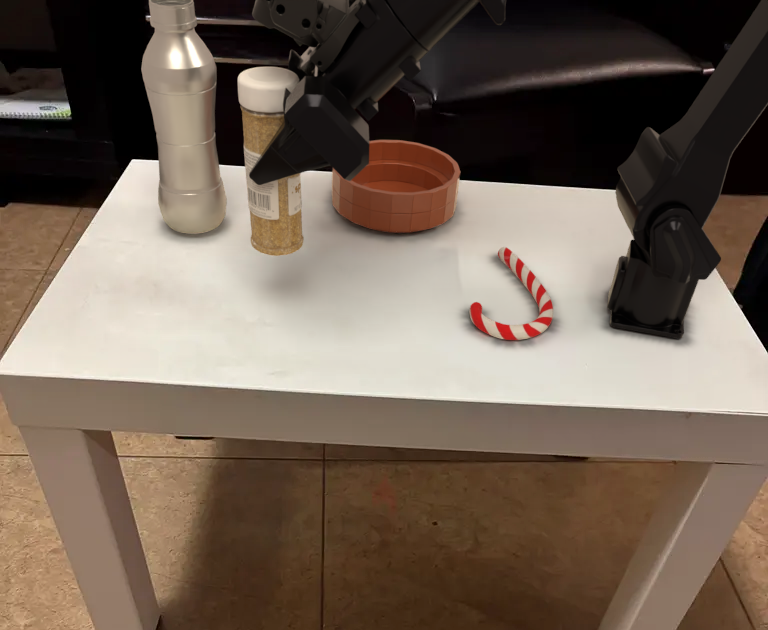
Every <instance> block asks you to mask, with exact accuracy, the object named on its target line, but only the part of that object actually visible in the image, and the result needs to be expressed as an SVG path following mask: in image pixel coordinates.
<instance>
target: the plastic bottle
mask: <svg viewBox="0 0 768 630" xmlns="http://www.w3.org/2000/svg"><path fill="white" fill-rule="evenodd" d="M148 6H149V14H150V17H149V23H150V26H151V28H154V33H153V35H152V36H151V38H150V40H149V42H148V44H147V45H146V48H145V50H144V53H143V55H142V60H141V61H142V62H141V68H140V69H141V74H142V80H143V83H144V87H145V91H146V95H147V99H148V102H149V106H150V110H151V114H152V119H153V125H154V131H155V133H156V136H155V137H156V142H157V153H158V174H159V175H158V177H159V180H158V186H157V187H158V188H157V204H158V207H159V211H160V213H161V218H162V220H163V221H164V222H165V224H166V225H167V226H168V227H169V228H170V229H172V230H173V231H175V232H178V233H183V234H190V235H191V234H203V233H207V232H210V231H213V230H216V229H217V228H218V227H219V226H220V225H221V224H222V223H223V221H224V219H225V218H226V213H227V203H228V201H227V200H228V199H227V194H226V188H225V184H224V181H223V179H222V176H221V170H220V169H221V168H220V162H219V156H218V151H217V150H218V149H217V143H216V141H217V140H216V132H215V131H216V114H215V113H216V111H215V110H216V97H217V96H216V94H217V80H218V79H217V76H218V75H217V74H218V73H217V71H218V70H217V64H216V62H215V59H214V56H213V54H212V53H211V50H210V49H209V48H208V47H207V45H206V43H205V42H204V41H203V39H202V38H201V37H200V36H199V35H198V33H197V32H196V30H195V28H196V27H197V25H198V20H197V19H198V18H197V16H196V12H195V11H196V9H195V2H194V0H148Z"/></svg>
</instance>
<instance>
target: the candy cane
mask: <svg viewBox="0 0 768 630" xmlns="http://www.w3.org/2000/svg"><path fill="white" fill-rule="evenodd" d="M497 256H498V258H499V259H500V261H501V262H502V263H503V264H504V265H505V266H506V267H508V268H509V270H510V271H511V272H512V273H513V274H514V275H515V276H516V277H517V278H518V279H519V281H520V282H521V283H522V285H523V286H524V287H525V288H526V289H527V290H528V292H529V293H530V294H531V296H532V298H533V299H534V301H535V302H536V305H537V307H538V311H539V314H538V317H537V318H535V319H534V320H532V321H529V322H527V323H521V324H507V323H501V322H498V321H495V320H493V319H490V318H489V317H487V316H485V314H483V305H482V304H481V303H480V302H478V301H474V302H472V303H471V305H470V307H469V317H470V321H471V322H472V324H473V325H474V326H475V327H476V328H477V329H479V330H480V331H481V332H483V333H485V334H487V335H489V336H492V337H494V338H497V339H499V340H507V341H520V340H526V339H532V338H534V337H536V336H538V335H540V334H542V333H543V332H545V331H546V330H547V329H548V328H549V326H550V325H551V324H552V321H553V319H554V305H553V301H552V299H551V297H550V294H549V293H548V291H547V289H546V288H545V286H544V285H543V283H542V282H541V281H540V279H538V277H537V276H536V275H535V274H534V273H533V271H531V269H530V268H529V267H528V266H527V265H526V263H524V261H522V260H521V258H520V257H518V255H516V254H515V252H513V251H512V250H511V249H510V248H509V247H506V246H502V247H500V248H499V249H498V251H497Z"/></svg>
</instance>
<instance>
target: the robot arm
mask: <svg viewBox="0 0 768 630" xmlns="http://www.w3.org/2000/svg"><path fill="white" fill-rule="evenodd" d="M479 3H480V5H481V7H482V8H483V9H484V11H485V12H486V13H487V14H488V16H489V17H490V19H491V20H492V21H493V23H494V24H495V25H496V26H501V25H503V24H504V23H505V21H506V8H507V7H506V6H507V5H506V4H507V0H255V1H254V5H253V8H252V12H251V15H252V17H253V19H254V20H255V21H256V22H258V23H259V24H261V25H262V26H264V27H265V28H267V29H271V30H272V29H275V30H278V31H279V32H281V33H283V34H285V35H287V36H289V37H290V38H291V39H293V40H294V42H295V43H296V44H297V45H298V46H299V47H301V46H303V45H305V46H307V47H308V48H307V49H306V50H305V51H304V52H303V53H302V55H299V54H298V52H296V50H294V49H290V51H289V56H288V63H287V64H288V65H287V67H288V70H290V71H292V72H294V73H295V74H296V75H297V76H298V78H299V83H298V84H297V85H296V87H295V88H294V89H293V91H292V92H290V91H289V90H288V89H287V88H285V91H284V98H283V110H284V122H283V123H282V125H281V126H280V128H279V129H278V131H277V132H276V134H275V135H274V136H273V138H272V139H271V141H270V142H269V144H268V145H267V147H266V148H265V150H264V151H263V153H262V154H261V156H260V157H259V159H258V160H257V162H256V163H255V165H254V166H253V168H252V170H251V171H250V173H249V177H250V178H251V179H252V180H253V181H254V182H255V183H256V184H257V185H262V184H266V183H269V182H272V181H275V180H279V179H282V178H285V177H289V176H292V175H295V174H299V173H300V174H302V173H305V172H309V171H314V170H318V169H321V168H327V167H331V168H332V167H333V168H334V169H335V170H336V171H337V172H338V173H339V174H340V175H341V176H342V177H343V178H344V179H345V180H348V181H351V180H352V179H353V178H354V177H355V176H356V175H357V174H358V173H359V172H360V171H362V170H363V169H364V168H365V167H366V166H367V165H368V164H369V146H370V144H369V141H370V127H369V126H370V125H369V124H368V123H367V122H369V121H370V120H372V119H373V118H374V116H375V115H377V114H378V113H379V101H380V100H381V99H382V98H383V97H384V96H385V95H386V94H387V93H388V92H389V91H390V90H391V89H392V88H393V87H394V86H395V85H396V84H397V83H398V82H400V80H402V78H403V77H404V76H406V78H407V79H408V81H412V80H413V79H414V78H415V77H416V76H417V75H418V74H419V73H420V72H421V71H422V69H421V63H420V61H421V60H422V59H423V58H424V57H425V56H426V55H427V54H428V53H429V52H430V51H431V50H432V49H433V48H434V47H435V46H436V45H437V44H438V43H439V42H440V41H441V40H442V39H443V38H444V37H445V36H446V35H447V34H448V33H449V32H450V31H451V30H452V29H454V27H456V25H457V24H459V23H460V22H461V20H462V19H464V17H466V16H467V15H468V14H469V13H470V12H471V11H472V10H473V9H474V8H475V7H476V6H477V5H478V4H479ZM767 106H768V0H760V1H759V3H758V4H757V6H756V8H755V10H753V12H752V14H751V16H750V17H749V18H748V20H747V21H746V23H745V25H744V26H743V27H742V29H741V30H740V32H739V33H738V35H737V36H736V38H735V39H734V41H733V42H732V44H731V45H730V46H729V48H728V50H727V51H726V53H725V54H724V56H723V58H721V60H720V62H719V63H718V65H716V68H715V69H714V71H713V72H712V74H711V76H710V77H709V78H708V80H707V81H706V83H705V85H704V86H703V87H702V89H701V90H700V92H699V94H698V95H697V96H696V98H695V99H694V101H693V103H691V106H690V107H689V109H688V110H687V111H686V113H685V114H684V115H683V116H682V118H680V120H679V121H678V122H676V123H675V124H673V125H672V126H670V128H668V129H666V130H664V132H662V133H660V134H659V133H658V132H656V131H655V130H654V129H653V128H651V127H649V126H647V127H646V128H645V129H644V130H643V132H642V133H641V134H640V136H639V138H638V141H637V143H636V145H635V147H634V149H633V151H632V152H631V154H630V155H629V156H628V158H627V159H626V160H625V161H624V162H623V163H622V164H620V165H619V166H618V167H617V171H618V174H619V175H620V178H619V180H618V182H617V184H616V187H615V198H616V204H617V207H618V210H619V211H620V214H621V215H622V218H623V219H624V220H623V221H625V223H626V226H627V228H628V230H629V232H630V233H631V236H632V238H633V239H631V240H630V241H629V245H628V248H627V252H626V255H620V256H619V257H618V259H617V263H616V266H615V269H614V274H613V277H612V279H611V283H610V287H609V291H608V293H607V305H606V308H607V310H608V311H610V317H609V318H610V319H609V325H610V326H611V327H613V328H616V329H622V330H628V331H633V332H638V333H639V332H640V333H646V334H650V335H656V336H661V337H668V338H672V339H682V338H683V337H684V334H685V324H684V323H685V322H684V321H685V319H686V316H687V313H688V310H689V308H690V305H691V302H692V299H693V297H694V294H695V292H696V288H697V287H698V284H699V281H703V280H704V281H705V280H707V279H708V278H709V277H710V275H711V274H712V273H713V271H714V270H715V269H716V268H717V266H718V265H719V264H720V263H721V261H722V257H721V255H720V253H719V252H718V250H717V248H715V246H714V244H713V242H712V240H711V239H710V237H709V236H708V234H707V233H706V232H705V231H706V230H704V227H705V225H706V223H707V222H708V220H709V217H710V216H711V214H712V213H713V210H714V209H715V207H716V205H717V203H718V201H719V199H720V196H721V193H722V190H723V186H724V182H725V180H726V176H727V172H728V169H729V165H730V161H731V158H732V156H733V154H734V152H735V151H736V149H737V148H738V146H739V145H740V144H741V142H742V140H743V139H744V138H745V137H746V135H747V134H748V133H749V131H750V130H751V128H752V127H753V126H754V124H755V123H756V121H757V120H758V119H759V117H760V116H761V115H762V113H763V112H764V111H765V109H766V107H767ZM356 109H357V111H356ZM358 112H359V113H360V114H361V115H362V116H361V115H360V114H359V113H358ZM363 117H364V118H365V119H366V120H367V121H365V120H364V118H363Z"/></svg>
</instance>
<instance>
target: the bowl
mask: <svg viewBox="0 0 768 630" xmlns="http://www.w3.org/2000/svg"><path fill="white" fill-rule="evenodd" d="M369 144H370V146H369V164H368V165H367V166H366V167H365V168H364V169H363V170H362V171H360V172H359V173H358V174H357V175H356V176H355V177H354V178H353V179H352V180H351V181H348V180H345V179H344V178H343V177H342V176H341V175H340V174H339V173H338V172H337V171H336V170H335V169H334V168H333V167H332V166H331V204H332V206H333V208H334V209H335V210H336V211H337V213H338V214H339V215H340V216H342V217H343V218H345V219H347V220H348V221H350V222H351V223H353V224H355V225H359V226H360V227H364V228H366V229H369V230H373V231H377V232H384V233H392V234H408V233H409V234H410V233H418V232H422V231H427V230H430V229H433V228H436V227H438V226H441V225H444V224H445V223H446V222H447V221H449V220H450V219H451V218H453V216H454V214H455V211H456V208H457V203H458V196H459V195H458V194H459V187H460V179H461V178H460V177H461V173H462V172H461V170H460V169H461V168H460V166H459V163H458V161H456V160H455V159H454V158H453V157H452V156H451V155H449V154H448V153H446V152H445V151H441V150H440V149H438V148H436V147H433V146H430V145H427V144H423V143H420V142H416V141H415V142H414V141H407V140H402V139H401V140H400V139H375V140H369Z"/></svg>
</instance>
